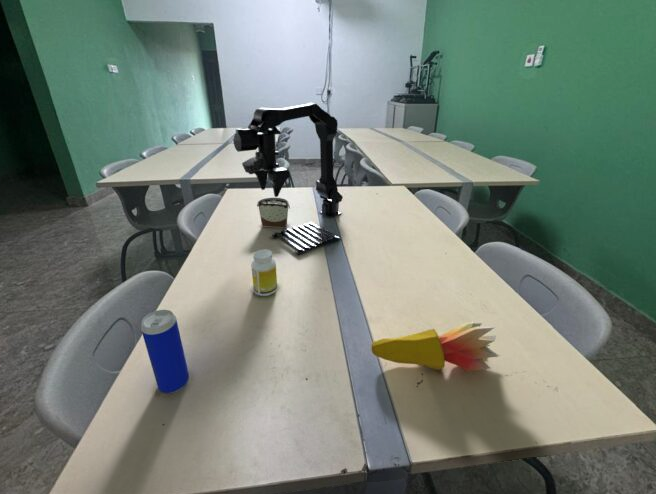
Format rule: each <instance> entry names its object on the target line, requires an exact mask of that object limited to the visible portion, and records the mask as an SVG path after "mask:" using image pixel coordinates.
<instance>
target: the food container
mask: <svg viewBox="0 0 656 494" xmlns="http://www.w3.org/2000/svg"><path fill="white" fill-rule="evenodd" d="M256 208H258V211H259V212H258V213H259V217H260V222H261V227H264V228H265V227H266V228H277V229H288V228H287V227H288V215H289V210H290V209H291V206H290V202H289V201H288V200H287V199H285V198H281V197H266V198H262V199H260V200H258V201H257V204H256Z"/></svg>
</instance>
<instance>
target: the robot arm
mask: <svg viewBox="0 0 656 494" xmlns="http://www.w3.org/2000/svg"><path fill="white" fill-rule="evenodd" d="M307 117H308V118H309V120H310V121H311V122H312V123H313V125H314V128H315V133H316V135H317V137H318V139H319V149H320V150H319V152H320V153H319V154H320V177H319V179H318V180H315V191H316V192H317V194H318V196H319V198H320V199H322V203H321V211H320V214H322V215H324V216H326V217H328V218H332V217H335V216H338V215H341V214H342V212H340V211H339V207H340V205H339V204H340V203H342V201H343V195H342V194H341V193H340V192H339V189H338V183H337V181H336V179H335V177H334V140H335V137H336V135H337V133H338V126H339V125H338V123H339V122H338V120H337V118H335V116H332V115H331V114H330V113H328V111H326V110H324V109H323V108H321V107H320V106H319V105H318V104H317V103H314V102H307V103H304V104H298V105H292V106H287V107H282V108H272V107H258V108H256V109H255V110H254V112H253V117H252V118H251V121H250V123H249V124H248V126H247V128H236V129H235V133H234V135H233V138H232V141H233V147H234V148H235V150H236V151H237V152H238V153H239V152H249V151H255V153H254V154H255V155H254V156H253V157H251V158H248V159H247V160H245V161H243V162H242V163H241V165H242V167H243V169H244V171H245V173H246V174H248V175H255V177H256V179H257V182H258V184H259V187H260V189H261V191H265V189H266V185H267V181H269V182H270V183H271V185H272V191H273V196H274V198H279V195H280V193H281V190H282V188H283V186H284V184H285V183H286V181H287V180H288V179H290V178H291V171H290V170H289V169H287V168H285V167H280V164H279V163H277V156H279V155H280V154H279V151H277V148H276V147H277V146H276V145H277V144H276V135H282V131H280V129H278V128H277V127H278V126H280V125H282V124H283V123H284V122H286V121H287V122H289V121H292V120H297V119H303V118H307Z"/></svg>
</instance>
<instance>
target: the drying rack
mask: <svg viewBox="0 0 656 494" xmlns="http://www.w3.org/2000/svg"><path fill="white" fill-rule="evenodd" d="M285 229H286V230H284V229H282V230H280V231H279V232H278V231H275V232H274V233H273V234H272V235H271V237H272V239H278V238H279V239H281V240H282V241H284V242H285V243H286V244H288V245H289V246H290V247H292V248H294V249H295V250H296V251H295V255H297V256H300V255H302V254H305V253H307V252H311V251H313V250H316V249H319V248H323V247H324V246H328V245H330V244H332V243H335V242H338V241H340V240H341V237H340V236H337V235H336V234H335V233H332V232H331V231H329V230H326V229H325V228H323V227H321V226H320V225H317V224H316V223H315V222H312V221H310V222H308V223H303V224H302V225H301V224H299V225H297V227H296V226H293V227H291V228H285Z"/></svg>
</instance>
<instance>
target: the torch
mask: <svg viewBox="0 0 656 494" xmlns="http://www.w3.org/2000/svg"><path fill="white" fill-rule="evenodd" d="M482 325H483V323H480V322H479V323H478V322H477V323H476V321H470V322H465V323H463V324H461V325H458V326H457V327H455V328H453V329H451V330H449V331H448V332H445V333H443V334H441V335H438V332H437V331H436V329H435V328H431V329H427V330H425V331H424V330H423V331H421V332H417V333H414V334H408V335H403V336H400V337H399V336H398V337H394V338H391V337H390V338H389V337H388V338H381V339H378V340H374V341H373V342H371V346H370V348H371V352H372V354H373V355H374V356H375V357H378V358H380V359H383V360H385V361H389V362H393V363H397V364H407V365H418V366H422V367H424V366H425V367H426V368H430V369H432V370H437V371H440V370H441V369H443V368H444V367H445V364H446V362H447V363H449V364H452V365H454V366H457V367H459V368H461V369H462V370H463V371H465V372H472V371H480V370H481V371H482V370H490V369H491V368H492V367H490V365H488V364H487V363H486V362H488V359H489V358H498V357H501V355H500V354H498V353H497V352H496V351H495V350H493V349H491V348H489V347H491V345H490V344H491V343H494V342H495V341H496V337H497V335H487V336H486V334H488V333H489V332H491V331H493V329H495V328H496V327H493V326H482Z"/></svg>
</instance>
